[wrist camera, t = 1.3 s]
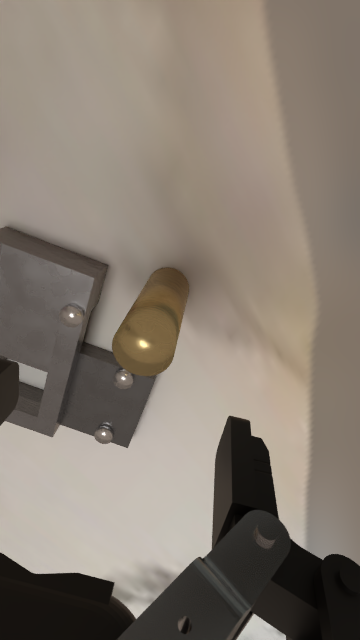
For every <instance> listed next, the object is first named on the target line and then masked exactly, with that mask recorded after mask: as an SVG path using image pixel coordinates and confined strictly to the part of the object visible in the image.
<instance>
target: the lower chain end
mask: <svg viewBox="0 0 360 640" xmlns="http://www.w3.org/2000/svg"><path fill="white" fill-rule="evenodd" d="M0 358H1V359H5V360H7V358H6V357H3V356H1V355H0ZM155 378H156V375H153V376H140V375H136V374H133V373H131V372H129V371H127V370H126V369H124V368H123V367H122V366H121V365H120V364H119V363H118V362H117V360H116V358H115V356H114V354H113V353H112V352H109V351H106V350H104V349H101V348H98V347H95V346H93V345H90V344H87V343H84V342H83V343H82V346H81V350H80V354H79V357H78V361H77V365H76V368H75V372H74V376H73V379H72V383H71V387H70V391H69V394H68V398H67V402H66V405H65V409H64V413H63V416H62V420H61V424H60V425H63V426H66V427H69V428H72V429H75V430H78V431H80V432H83V433H86V434H89V435H92V436H94V437H95V439H96V440H97V441H98V442H99V443H102V444H108V443H110V442H112V443H115V444H117V445H120V446H123V447H126V448H128V446H129V444H130V441H131V439H132V436H133V434H134V431H135V429H136V426H137V424H138V421H139V419H140V416H141V414H142V411H143V409H144V406H145V404H146V401H147V399H148V396H149V394H150V391H151V389H152V386H153V384H154V381H155ZM43 392H44V390H41V389H38V388H36V387H33V386H30V385H27V384H24V383H21V382H19V396H22V397H24V398H27V399H30V400H33V401H36V402H39V403H41V401H42V396H43Z"/></svg>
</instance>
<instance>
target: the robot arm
mask: <svg viewBox="0 0 360 640" xmlns="http://www.w3.org/2000/svg"><path fill="white" fill-rule="evenodd" d="M18 398H19V365H18V363H17V362H14V361H9V360H5V359H1V358H0V426H1V424H2V423H3V422H4V421H5V420H6V419H7V417H8V416H9V415H10V414H11V413H12V412H13V410H14V409H15V407H16V405H17V402H18ZM113 587H114V582H110V581H107V580H103V579H99V578H95V577H91V576H88V575H84V574H80V573H57V574H34V573H32V572H30V571H28V570H27V569H25V568H24V567H22V566H21V565H19V564H18V563H16V562H14V561H13V560H11V559H10V558H8V557H7V556H5V555H4V554H2V553H0V640H236V639H237V638H238V636H239V635H240V633H241V632H242V631H243V629H244V628H245V626H246V625H247V623H248V622H249V620H250V619H251V617H252V616H253V614H256V615H257V616H258V617H260V618H261V619H263V620H264V621H266V622H267V623H269V624H270V625H272V626H273V627H275V628H276V629H277V630H279V631H280V632H282V633H283V634H285V635H286V640H360V566H359V565H358V564H356V563H355V562H354V561H352V560H351V559H349V558H347V557H345V556H343V555H339V554H331V555H328V556H326V557H325V558H324V560H322V559H320V558H318V557H317V556H315V555H313V554H311V553H310V552H308V551H306V550H305V549H303V548H301V547H300V546H298V545H297V544H296V543H295V542H294V541H293V540H292V539H291V538H290V536H289V533H288V531H287V529H286V528H285V526H284V525H283V523H282V522H281V521H280V520H279V517H278V511H277V504H276V498H275V491H274V484H273V477H272V471H271V466H270V457H269V451H268V449H267V447H266V445H265V444H264V442H263V440H262V439H261V438H258V437H254V436H251V427H250V421H249V420H246V419H242V418H237V417H233V416H229V417H228V419H227V422H226V425H225V428H224V431H223V434H222V436H221V439H220V442H219V445H218V449H217V453H216V459H215V479H214V505H213V532H212V550H211V551H210V552H209V553H208V554H207V556H205V557H204V558H203V559H202V558H201V557H198V558H196V559H195V560H194V561H193V562H192V563H191V564H190V565H189V566H188V567H187V568H186V569H185V570H184V571H183V572H182V573H181V574H180V575H179V576H178V577H177V578H176V579H175V580H174V581H173V582H172V583H171V584H170V585H169V586H168V587H167V588H166V589H165V590H164V591H163V592H162V593H161V594H160V595H159V597H158V598H157V599H156V600H155V601H154V602H153V603H152V604H151V605H150V606H149V607H148V608H147V609H146V610H145V611H144V612H143V613H142V614H141V615H140V616H139V617H138V618H137V619H136V618H135V617H134V615H133V614H132V613H131V612H130V610H129V609H128V608H127V607H126V606H125V605H124V604H123V603H122V602H120V601H119V600H118V599H116V598H115V597H113V596H112V592H113Z"/></svg>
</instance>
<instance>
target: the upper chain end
mask: <svg viewBox="0 0 360 640" xmlns="http://www.w3.org/2000/svg"><path fill="white" fill-rule="evenodd" d="M107 268H108V265H106V264H103V263H100V262H98V261H95V260H92V259H90V258H87V257H85V256H82V255H79V254H77V253H74V252H71V251H69V250H66V249H63V248H61V247H58V246H56V245H53V244H50V243H48V242H45V241H42V240H40V239H37V238H34V237H32V236H29V235H27V234H24V233H21V232H19V231H16V230H13V229H11V228H8V227H4V228H0V355H1V356H3V357H6V358H9V359H12V360H15V361H17V362H20V363H23V364H26V365H29V366H31V367H34V368H37V369H40V370H42V371H45V372H48V375H47V379H46V383H45V388H44V392H43V396H42V401H41V403H39V402H36V401H33V400H30V399H27V398H24V397H22V396H19V398H18V402H17V405H16V407H15V409H14V410H13V412H12V413H11V414H10V415H9V416H8V417H7V419H6V420H5V421H7V422H10V423H13V424H16V425H19V426H21V427H24V428H27V429H30V430H33V431H36V432H39V433H42V434H44V435H47V436H50V437H53V436H54V434H55V432H56V431H57V429H58V427H59V426H60V424H61V420H62V416H63V413H64V409H65V405H66V402H67V398H68V394H69V391H70V387H71V383H72V379H73V376H74V372H75V368H76V365H77V361H78V357H79V354H80V350H81V346H82V343H83V339H84V335H85V332H86V328H87V324H88V320H89V317H90V313H91V310H92V309H93V307H94V306H95V305H96V304H97V303H98V301H99V297H100V294H101V290H102V286H103V283H104V279H105V276H106V272H107Z"/></svg>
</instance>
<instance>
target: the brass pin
mask: <svg viewBox="0 0 360 640" xmlns="http://www.w3.org/2000/svg"><path fill="white" fill-rule="evenodd" d="M188 293H189V284H188V281H187V279H186V277H185V276H184V275H183V274H182V273H181V272H180V271H178V270H176V269H173V268H161V269H158V270H156V271H155V272H154V273H153V274H152V275H151V276H150V278H149V279H148V281H147V283H146V284H145V286H144V288H143V289H142V291H141V293H140V294H139V296H138V297H137V299H136V301H135V302H134V304H133V306H132V307H131V309H130V311H129V312H128V314H127V316H126V317H125V319H124V320H123V322H122V324H121V325H120V327H119V329H118V330H117V332H116V334H115V335H114V338H113V342H112V350H113V354H114V356H115V358H116V360H117V362H118V363H119V364H120V365H121V366H122V367H123V368H124V369H126V370H127V371H129V372H131V373H133V374H136V375H140V376H153V375H157V374H159V373H161V372H163V371H164V370H166V369H167V368H168V367H169V365H170V364H171V362H172V360H173V357H174V353H175V349H176V344H177V340H178V336H179V332H180V327H181V323H182V319H183V314H184V310H185V306H186V302H187V297H188Z"/></svg>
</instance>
